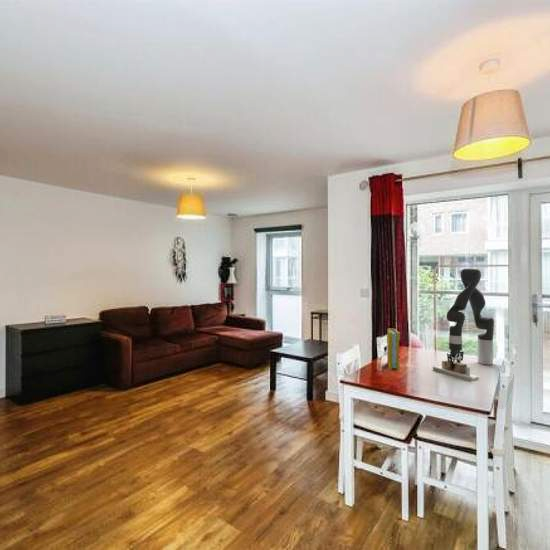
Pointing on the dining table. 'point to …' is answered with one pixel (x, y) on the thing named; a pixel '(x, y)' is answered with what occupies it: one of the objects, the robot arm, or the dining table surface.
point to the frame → (456, 367)
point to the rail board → (463, 376)
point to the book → (393, 348)
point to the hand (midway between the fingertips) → (455, 368)
